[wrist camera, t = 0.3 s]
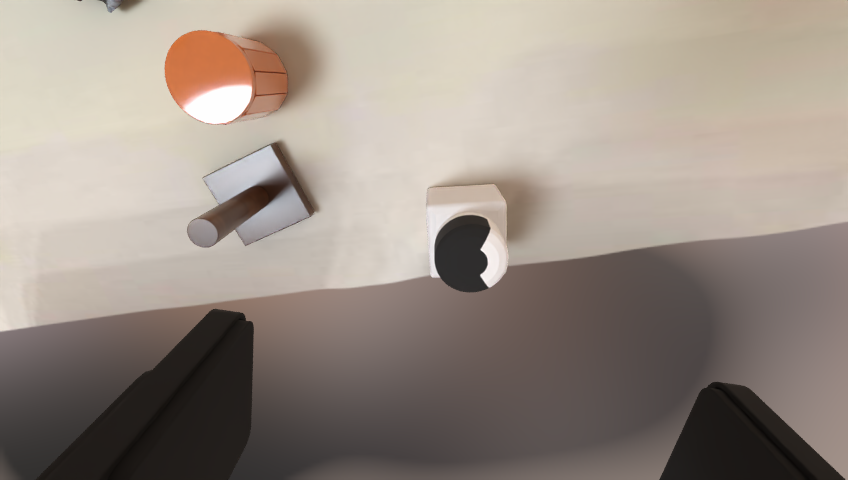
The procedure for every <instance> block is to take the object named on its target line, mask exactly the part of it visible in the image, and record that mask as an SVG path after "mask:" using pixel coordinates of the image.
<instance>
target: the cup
mask: <svg viewBox="0 0 848 480" xmlns="http://www.w3.org/2000/svg"><path fill="white" fill-rule="evenodd" d="M285 73H287V71H286V69H285V68H284V66H283V64H282V62H281V60H280V58H279V56H278V55H277V54H276V53H275V52H274V51H272V50H271V49H270V48H268V47H267V46H265V45H264V44H263V43H261V42H258V41H254V40H250V39H245V38H241V37H237V36H233V35H229V34H224V33H220V32H211V31H205V30H198V31H192V32H189V33H186V34H184V35H183V36H181V37H180V38H178V39H177V40H176V41H175V42H174V43H173V45H172V46H171V48H170V49H169V51H168V54H167V57H166V61H165V78H166V82H167V86H168V89H169V91H170V93H171V95H172V97H173V99H174V100H175V101H176V103H177V104H178V105H179V106H180V108H181V109H183V110H184V111H185V112H186V113H187V114H188V115H190V116H191V117H193V118H195V119H197V120H199V121H201V122H204V123H208V124H225V125H226V124H231V123H236V122H241V121H246V120H251V119H256V118H261V117H265V116H267V115H269V114H271V113H273V112H275V111H276V110H278V109H279V108H280V106H281V104H282V103H283V101H284V99H285V97H286V96H287V93H288V75H287V74H285Z"/></svg>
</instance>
